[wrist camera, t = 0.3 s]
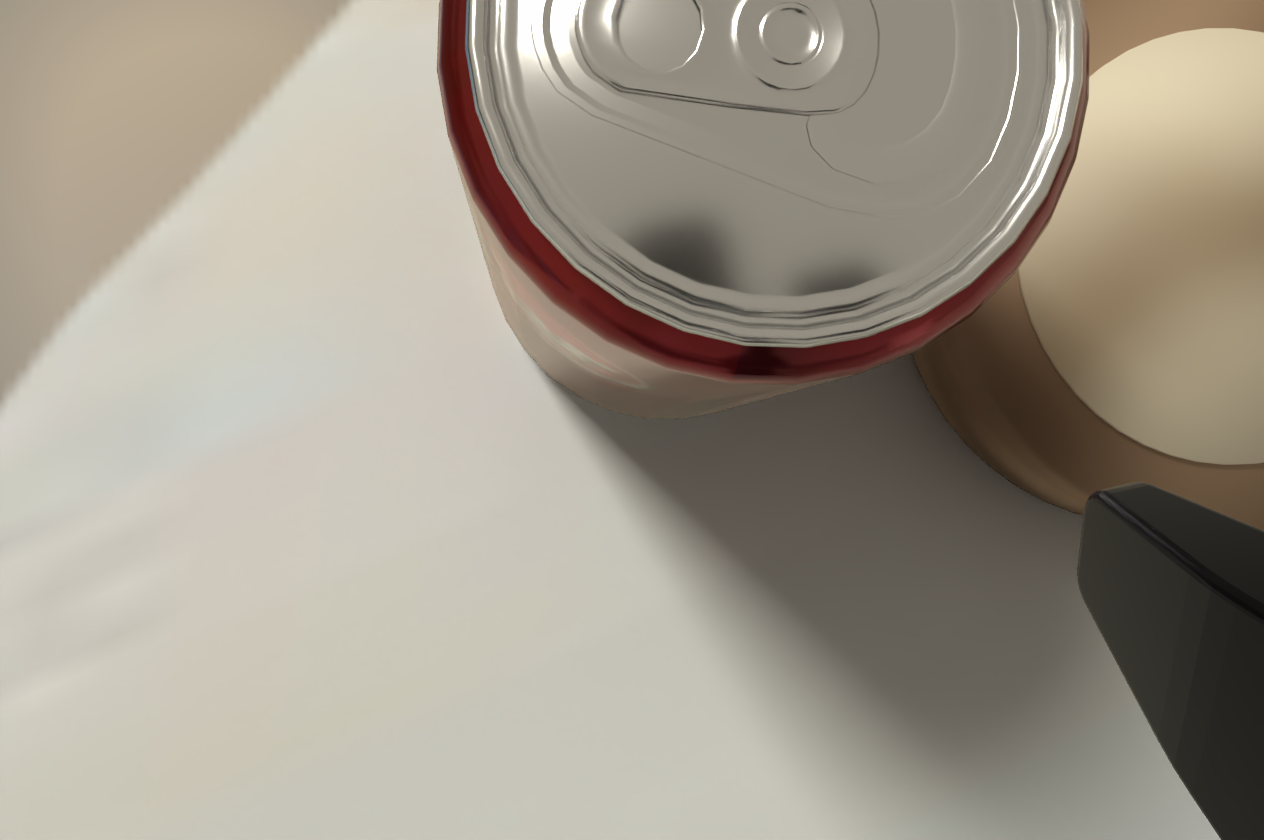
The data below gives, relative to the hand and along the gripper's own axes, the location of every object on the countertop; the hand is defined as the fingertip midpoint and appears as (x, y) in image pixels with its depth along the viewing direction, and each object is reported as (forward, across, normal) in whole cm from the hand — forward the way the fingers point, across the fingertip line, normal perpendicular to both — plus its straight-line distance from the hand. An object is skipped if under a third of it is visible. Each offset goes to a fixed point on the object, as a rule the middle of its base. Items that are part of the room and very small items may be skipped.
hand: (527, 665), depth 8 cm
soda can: (+15, -4, +4) cm, 16 cm away
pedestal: (+14, -14, +6) cm, 21 cm away
